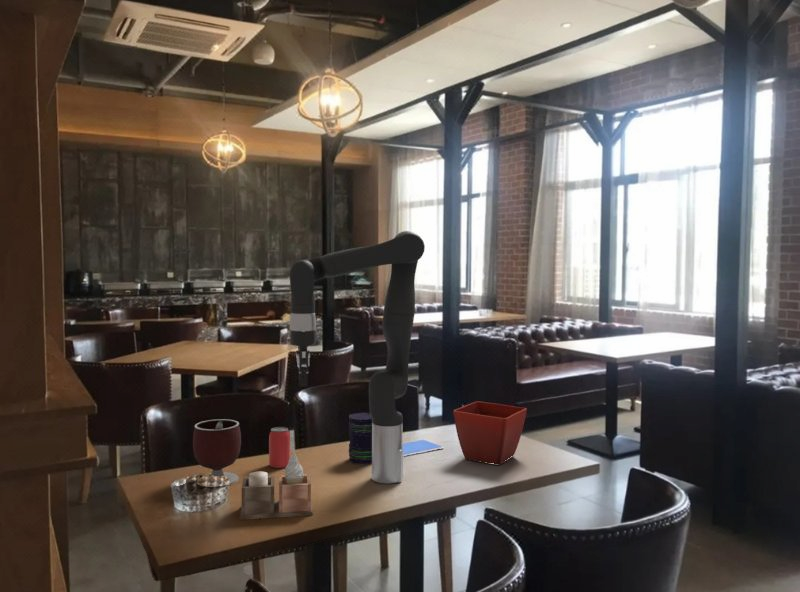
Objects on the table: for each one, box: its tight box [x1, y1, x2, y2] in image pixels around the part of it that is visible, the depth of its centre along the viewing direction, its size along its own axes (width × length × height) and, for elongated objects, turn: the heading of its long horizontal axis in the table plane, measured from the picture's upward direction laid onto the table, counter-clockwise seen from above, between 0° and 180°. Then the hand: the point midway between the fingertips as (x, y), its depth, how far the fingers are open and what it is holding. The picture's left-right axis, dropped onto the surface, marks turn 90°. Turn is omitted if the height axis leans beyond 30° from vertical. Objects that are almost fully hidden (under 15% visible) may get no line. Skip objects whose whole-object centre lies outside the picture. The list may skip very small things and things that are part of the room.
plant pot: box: [453, 401, 528, 465], centre depth 218 cm, size 19×19×17 cm
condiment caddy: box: [239, 470, 314, 521], centre depth 171 cm, size 18×9×10 cm, turn 100°
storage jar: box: [348, 412, 372, 466], centre depth 215 cm, size 10×10×15 cm
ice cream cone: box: [284, 450, 305, 484], centre depth 171 cm, size 5×5×15 cm
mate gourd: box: [192, 418, 242, 486], centre depth 193 cm, size 16×14×20 cm
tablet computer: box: [402, 439, 444, 457], centre depth 229 cm, size 19×13×1 cm, turn 124°
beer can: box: [268, 426, 291, 469], centre depth 209 cm, size 7×7×12 cm
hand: (303, 383), depth 190 cm, fingers open, 8 cm apart
